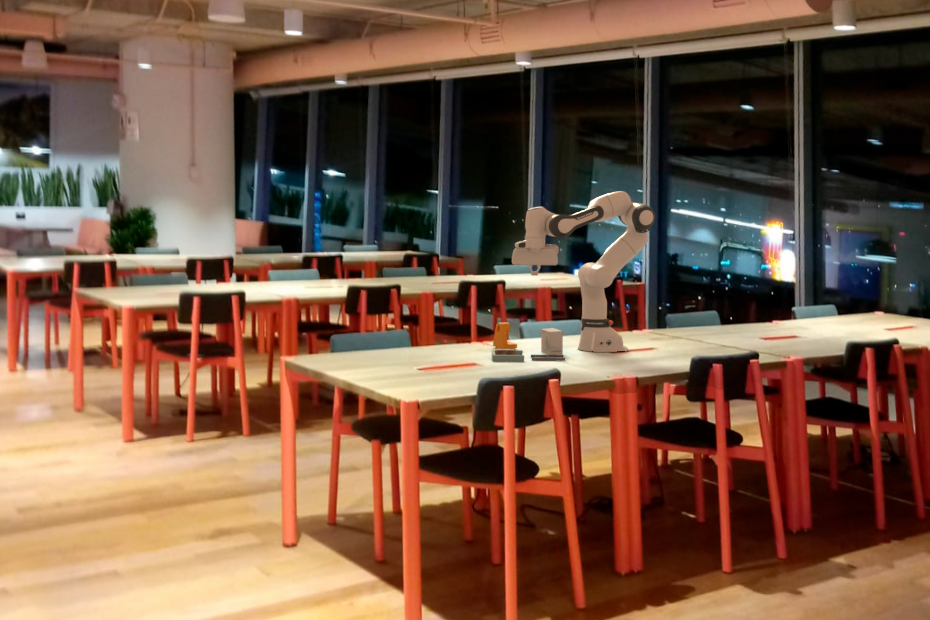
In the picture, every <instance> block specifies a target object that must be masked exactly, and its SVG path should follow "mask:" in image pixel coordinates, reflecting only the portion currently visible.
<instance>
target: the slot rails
mask: <svg viewBox="0 0 930 620" xmlns="http://www.w3.org/2000/svg"><path fill="white" fill-rule="evenodd" d="M530 358H531V361H543V362H545V361H550V362H551V361H553V362H555V361H556V360H560V362H561V360H565V361H566V357H565V355H564V354H562V355H549V354H530Z"/></svg>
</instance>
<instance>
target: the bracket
mask: <svg viewBox="0 0 930 620" xmlns="http://www.w3.org/2000/svg"><path fill="white" fill-rule="evenodd" d="M510 332H511V325H510V322H508V321H507V322H497V323H496V325H495V330H494V335H493V341H492V346H493V347H495V349H515V350H516V349H517V348H518V344H517V343H515V342H512V341H509V340H508V335H509V334H510Z"/></svg>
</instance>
